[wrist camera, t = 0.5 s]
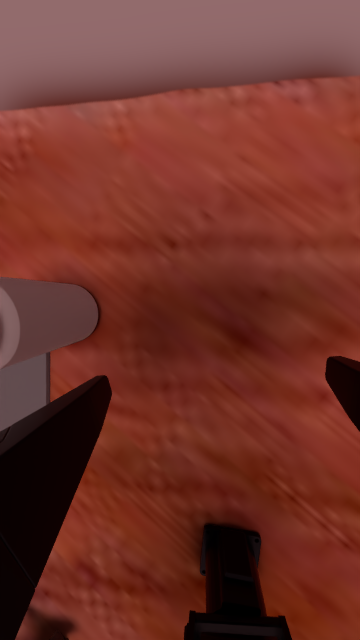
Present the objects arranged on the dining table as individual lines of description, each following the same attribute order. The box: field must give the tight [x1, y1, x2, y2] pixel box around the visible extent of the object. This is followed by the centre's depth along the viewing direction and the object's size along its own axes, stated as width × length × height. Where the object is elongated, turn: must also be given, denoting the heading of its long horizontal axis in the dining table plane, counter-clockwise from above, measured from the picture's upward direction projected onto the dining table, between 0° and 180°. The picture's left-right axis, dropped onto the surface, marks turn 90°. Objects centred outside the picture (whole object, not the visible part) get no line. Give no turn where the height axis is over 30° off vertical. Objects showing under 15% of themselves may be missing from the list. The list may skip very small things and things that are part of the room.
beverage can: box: [0, 277, 98, 369], centre depth 18 cm, size 6×6×12 cm
